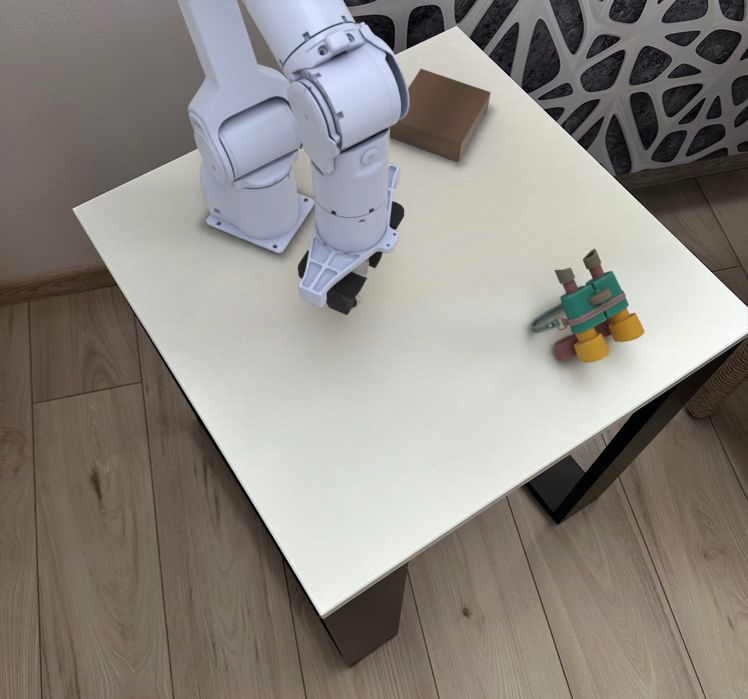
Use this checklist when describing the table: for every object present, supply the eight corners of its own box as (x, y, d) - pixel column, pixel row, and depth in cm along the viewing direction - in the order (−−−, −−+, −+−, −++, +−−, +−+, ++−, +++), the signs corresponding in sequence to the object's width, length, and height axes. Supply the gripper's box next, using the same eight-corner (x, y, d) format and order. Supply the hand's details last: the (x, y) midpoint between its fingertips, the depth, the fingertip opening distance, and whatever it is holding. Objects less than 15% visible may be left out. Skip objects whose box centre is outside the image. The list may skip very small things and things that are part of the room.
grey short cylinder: (330, 311, 71) (328, 281, 67) (348, 268, 74) (347, 237, 69) (359, 320, 71) (359, 290, 66) (377, 277, 73) (378, 246, 69)
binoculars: (534, 367, 79) (588, 371, 69) (497, 286, 77) (547, 279, 68) (605, 326, 81) (667, 324, 71) (570, 247, 80) (628, 234, 70)
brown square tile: (388, 136, 91) (388, 118, 88) (419, 87, 94) (420, 68, 92) (458, 162, 89) (461, 143, 86) (487, 111, 93) (490, 91, 90)
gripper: (354, 278, 55) (356, 365, 67) (436, 141, 61) (425, 243, 73) (268, 242, 56) (285, 333, 68) (357, 112, 63) (359, 216, 74)
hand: (353, 285), depth 71 cm, fingers closed on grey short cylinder, 5 cm apart
